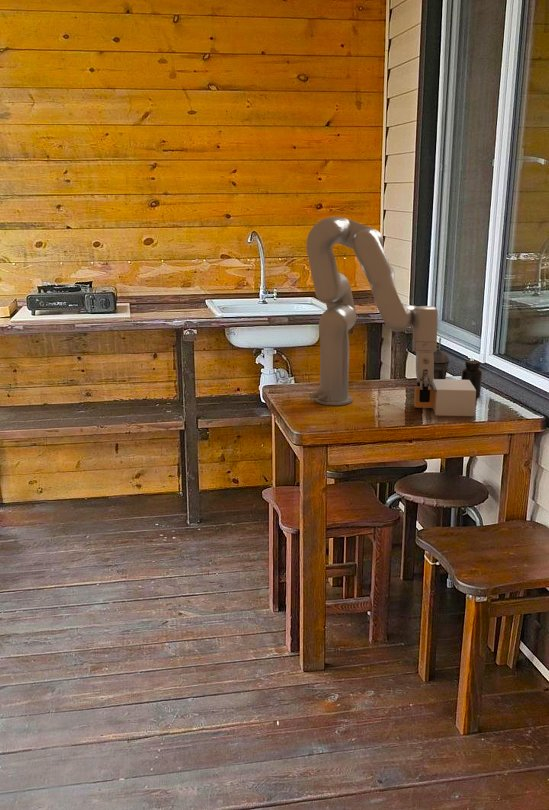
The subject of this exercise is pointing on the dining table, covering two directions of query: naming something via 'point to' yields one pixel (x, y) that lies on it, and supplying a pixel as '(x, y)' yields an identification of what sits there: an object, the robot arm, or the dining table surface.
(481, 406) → the dining table surface
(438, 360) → the beverage cup
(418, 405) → the orange rectangular block
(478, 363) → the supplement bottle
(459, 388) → the beige rectangular block
